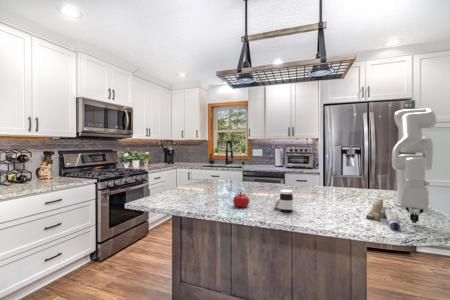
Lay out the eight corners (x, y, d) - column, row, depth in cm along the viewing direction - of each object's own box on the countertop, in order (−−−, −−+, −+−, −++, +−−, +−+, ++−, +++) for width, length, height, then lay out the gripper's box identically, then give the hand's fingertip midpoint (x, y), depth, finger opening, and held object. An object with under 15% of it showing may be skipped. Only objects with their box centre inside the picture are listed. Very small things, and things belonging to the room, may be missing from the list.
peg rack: (371, 211, 136) (371, 197, 135) (383, 213, 132) (383, 199, 132) (366, 218, 123) (366, 203, 123) (378, 220, 120) (378, 204, 120)
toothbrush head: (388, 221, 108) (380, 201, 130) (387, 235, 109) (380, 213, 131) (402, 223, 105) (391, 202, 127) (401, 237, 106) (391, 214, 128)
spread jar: (293, 213, 134) (293, 192, 134) (272, 212, 137) (272, 191, 137) (292, 207, 146) (292, 188, 146) (273, 206, 149) (273, 188, 148)
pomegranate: (251, 208, 147) (251, 193, 147) (236, 209, 144) (236, 193, 144) (245, 203, 156) (245, 189, 156) (231, 205, 154) (231, 190, 153)
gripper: (435, 184, 111) (435, 223, 111) (396, 181, 120) (395, 217, 121) (435, 186, 105) (435, 228, 105) (394, 183, 115) (394, 221, 115)
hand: (414, 222), depth 113 cm, fingers closed
